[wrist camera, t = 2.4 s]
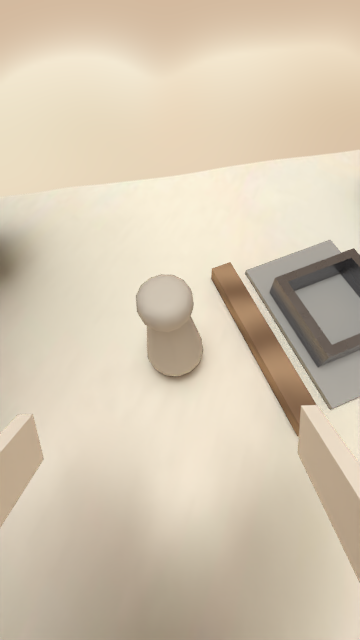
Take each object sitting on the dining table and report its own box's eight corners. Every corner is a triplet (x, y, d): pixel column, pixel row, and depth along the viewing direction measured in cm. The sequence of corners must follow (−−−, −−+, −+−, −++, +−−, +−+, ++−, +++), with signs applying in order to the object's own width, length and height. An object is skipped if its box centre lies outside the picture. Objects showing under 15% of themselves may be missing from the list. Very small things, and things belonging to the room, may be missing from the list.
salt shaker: (176, 323, 34) (164, 248, 23) (213, 355, 32) (220, 289, 21) (139, 357, 33) (106, 295, 21) (176, 393, 30) (161, 346, 19)
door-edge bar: (211, 278, 37) (212, 268, 35) (228, 272, 37) (230, 262, 35) (297, 436, 28) (304, 434, 26) (319, 426, 28) (327, 423, 26)
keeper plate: (245, 273, 37) (249, 254, 34) (328, 242, 38) (339, 222, 35) (330, 409, 29) (346, 401, 26) (431, 364, 30) (458, 352, 27)
